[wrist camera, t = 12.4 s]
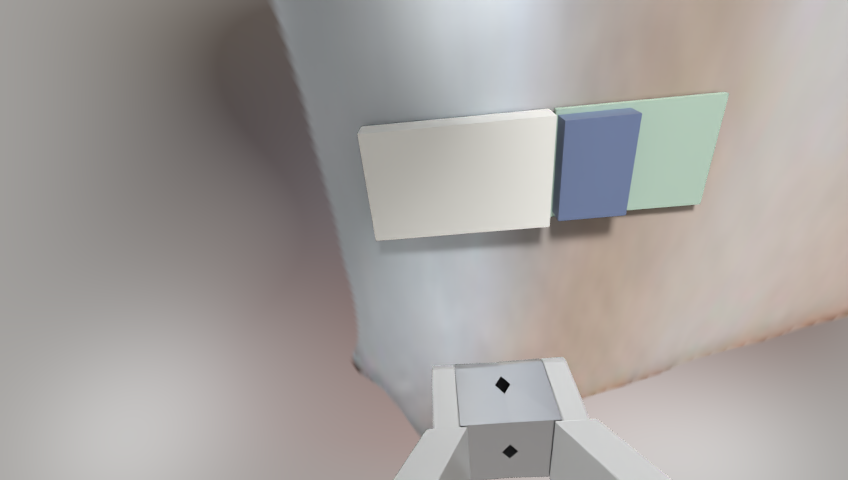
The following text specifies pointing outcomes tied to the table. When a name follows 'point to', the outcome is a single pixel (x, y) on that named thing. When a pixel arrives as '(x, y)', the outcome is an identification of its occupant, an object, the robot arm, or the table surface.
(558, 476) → the robot arm
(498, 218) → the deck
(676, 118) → the mat
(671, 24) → the table surface
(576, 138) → the tile
